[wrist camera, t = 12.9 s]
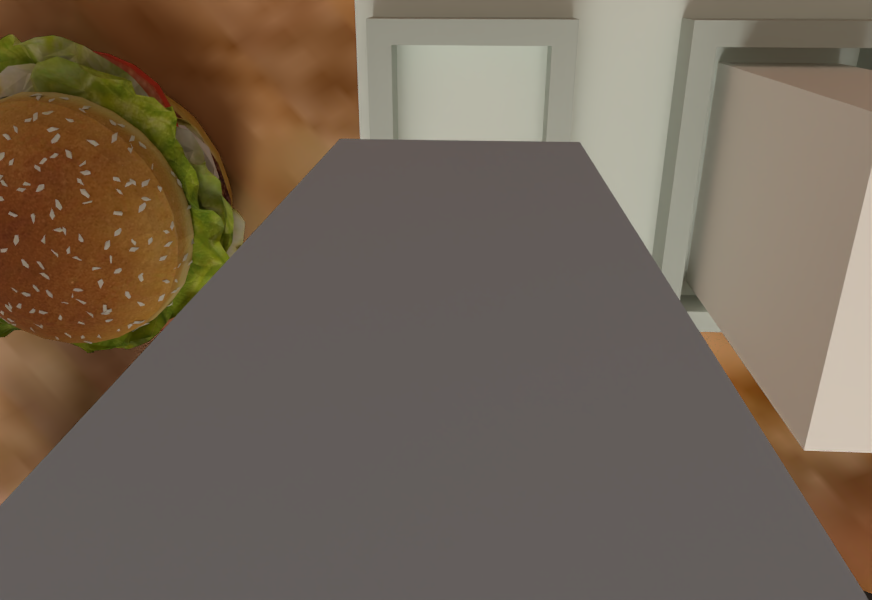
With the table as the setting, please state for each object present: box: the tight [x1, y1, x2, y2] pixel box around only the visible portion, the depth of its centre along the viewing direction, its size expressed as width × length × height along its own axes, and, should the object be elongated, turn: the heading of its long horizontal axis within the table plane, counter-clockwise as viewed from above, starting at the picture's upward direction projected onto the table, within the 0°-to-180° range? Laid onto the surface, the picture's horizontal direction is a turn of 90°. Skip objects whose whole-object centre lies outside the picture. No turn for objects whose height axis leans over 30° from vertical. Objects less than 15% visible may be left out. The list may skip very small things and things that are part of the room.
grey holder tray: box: [355, 0, 872, 332], centre depth 33 cm, size 23×15×3 cm, turn 90°
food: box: [0, 34, 245, 353], centre depth 32 cm, size 14×14×8 cm
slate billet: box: [0, 139, 868, 600], centre depth 11 cm, size 5×10×14 cm, turn 0°
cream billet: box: [686, 62, 872, 453], centre depth 27 cm, size 5×10×14 cm, turn 0°
